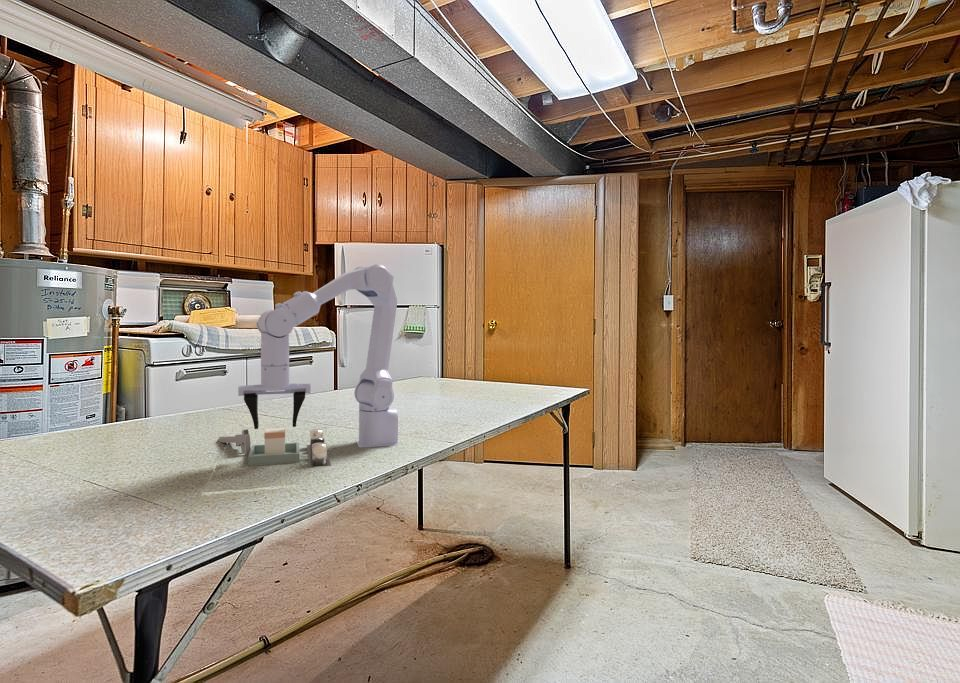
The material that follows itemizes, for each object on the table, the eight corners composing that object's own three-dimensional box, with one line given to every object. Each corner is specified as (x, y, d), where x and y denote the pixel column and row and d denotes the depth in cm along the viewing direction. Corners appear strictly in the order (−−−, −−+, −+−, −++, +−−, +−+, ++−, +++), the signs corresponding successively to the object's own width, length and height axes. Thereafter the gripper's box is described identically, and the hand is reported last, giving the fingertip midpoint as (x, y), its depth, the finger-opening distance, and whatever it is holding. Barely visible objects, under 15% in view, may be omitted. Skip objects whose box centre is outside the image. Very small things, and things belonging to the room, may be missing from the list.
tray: (299, 452, 120) (299, 442, 119) (299, 464, 110) (299, 453, 110) (251, 455, 116) (251, 445, 116) (248, 467, 107) (248, 456, 107)
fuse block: (325, 445, 126) (325, 427, 126) (331, 467, 108) (331, 446, 108) (306, 447, 124) (306, 428, 124) (308, 469, 107) (309, 447, 106)
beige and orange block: (285, 454, 116) (285, 427, 116) (284, 459, 112) (284, 431, 112) (265, 455, 114) (265, 428, 114) (264, 460, 111) (264, 432, 110)
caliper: (250, 458, 115) (250, 430, 115) (245, 458, 114) (245, 430, 114) (222, 440, 130) (222, 416, 130) (217, 441, 129) (217, 416, 129)
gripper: (309, 362, 118) (309, 421, 119) (240, 364, 114) (240, 425, 114) (310, 365, 112) (310, 427, 113) (237, 367, 107) (237, 432, 108)
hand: (275, 427), depth 113 cm, fingers open, 7 cm apart
